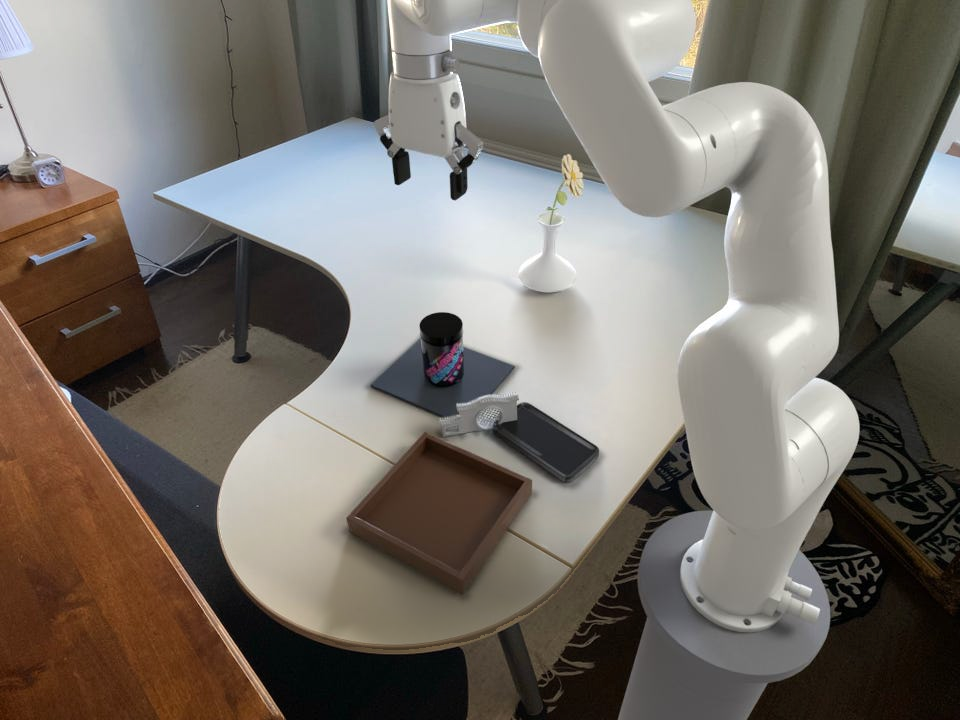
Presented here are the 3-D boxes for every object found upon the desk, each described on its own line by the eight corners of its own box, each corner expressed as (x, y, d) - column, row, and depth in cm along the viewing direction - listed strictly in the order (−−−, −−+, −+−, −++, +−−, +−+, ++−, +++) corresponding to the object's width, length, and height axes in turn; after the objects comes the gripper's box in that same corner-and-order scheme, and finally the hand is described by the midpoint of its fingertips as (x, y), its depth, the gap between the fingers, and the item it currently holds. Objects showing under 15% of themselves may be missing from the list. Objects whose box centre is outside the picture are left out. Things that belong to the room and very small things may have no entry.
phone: (524, 400, 104) (602, 449, 95) (524, 405, 104) (601, 454, 96) (489, 426, 99) (567, 480, 91) (489, 431, 100) (567, 485, 92)
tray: (531, 493, 91) (532, 479, 89) (463, 594, 79) (462, 580, 78) (425, 445, 98) (424, 431, 96) (348, 531, 86) (345, 517, 85)
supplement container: (417, 384, 108) (412, 333, 101) (432, 359, 113) (428, 308, 106) (456, 393, 106) (454, 341, 100) (470, 366, 111) (468, 316, 104)
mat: (514, 367, 111) (515, 365, 111) (464, 426, 101) (464, 424, 101) (426, 334, 119) (426, 333, 118) (370, 386, 108) (370, 384, 108)
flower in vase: (552, 305, 125) (561, 180, 109) (506, 283, 131) (508, 161, 115) (592, 277, 133) (606, 156, 117) (547, 257, 139) (554, 140, 123)
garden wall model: (442, 439, 99) (438, 409, 95) (440, 431, 100) (436, 401, 97) (519, 424, 101) (519, 394, 97) (516, 416, 102) (515, 386, 98)
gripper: (496, 65, 83) (495, 192, 94) (385, 47, 90) (397, 167, 101) (464, 81, 79) (467, 213, 89) (350, 61, 85) (366, 185, 96)
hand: (430, 188), depth 95 cm, fingers open, 9 cm apart
